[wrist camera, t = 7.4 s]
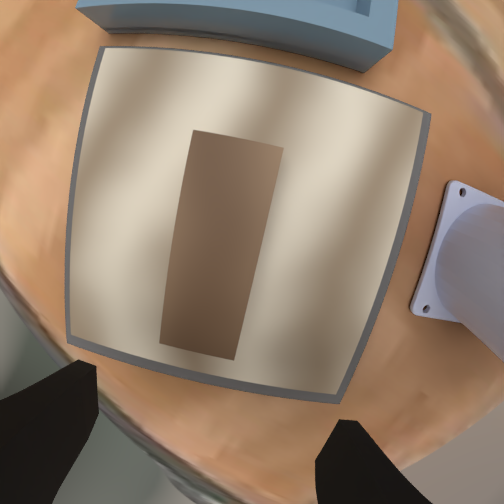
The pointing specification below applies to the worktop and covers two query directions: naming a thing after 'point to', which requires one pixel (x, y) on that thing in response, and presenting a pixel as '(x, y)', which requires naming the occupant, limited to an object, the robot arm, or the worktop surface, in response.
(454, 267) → the robot arm
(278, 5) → the dish
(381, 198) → the lid
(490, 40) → the worktop surface
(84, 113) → the mat
